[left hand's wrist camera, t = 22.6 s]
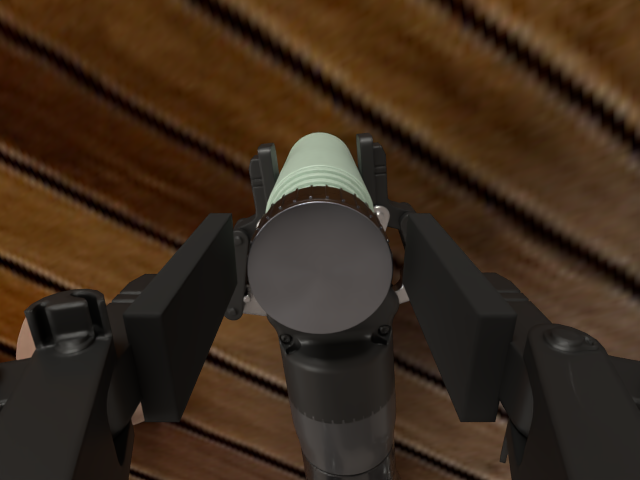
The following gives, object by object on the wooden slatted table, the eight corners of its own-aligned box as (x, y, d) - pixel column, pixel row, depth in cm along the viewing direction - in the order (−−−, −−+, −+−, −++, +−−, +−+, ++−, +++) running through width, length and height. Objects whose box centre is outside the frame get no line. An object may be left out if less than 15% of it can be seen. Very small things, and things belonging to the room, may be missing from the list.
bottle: (293, 126, 28) (259, 177, 12) (359, 140, 28) (410, 208, 12) (282, 190, 30) (238, 310, 14) (344, 203, 30) (371, 335, 14)
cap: (228, 227, 14) (213, 249, 12) (343, 157, 13) (347, 169, 11) (300, 324, 15) (297, 357, 14) (407, 266, 15) (421, 293, 13)
